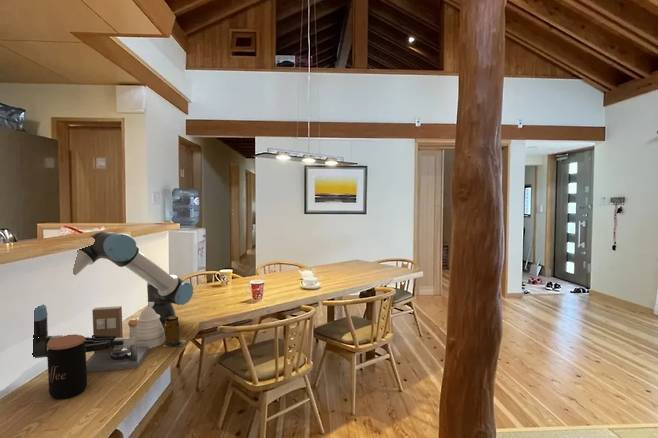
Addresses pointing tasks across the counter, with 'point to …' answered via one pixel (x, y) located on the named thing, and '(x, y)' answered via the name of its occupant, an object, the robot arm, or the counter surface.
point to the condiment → (172, 332)
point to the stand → (110, 324)
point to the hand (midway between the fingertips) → (133, 340)
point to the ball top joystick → (128, 350)
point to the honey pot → (149, 328)
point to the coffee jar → (67, 366)
